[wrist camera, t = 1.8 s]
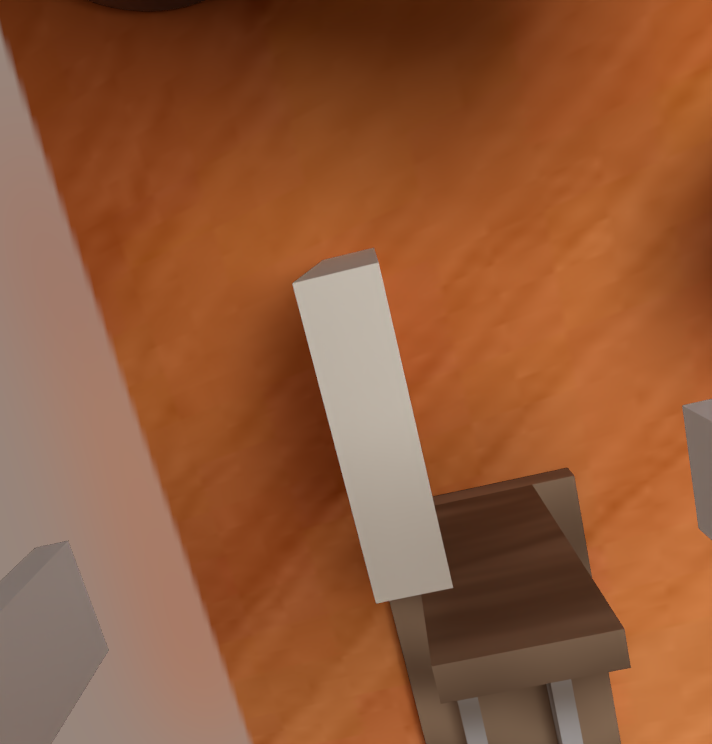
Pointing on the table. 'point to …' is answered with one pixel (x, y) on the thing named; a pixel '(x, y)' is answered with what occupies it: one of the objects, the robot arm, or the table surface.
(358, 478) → the door panel
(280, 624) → the table surface
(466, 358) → the table surface
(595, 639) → the track
